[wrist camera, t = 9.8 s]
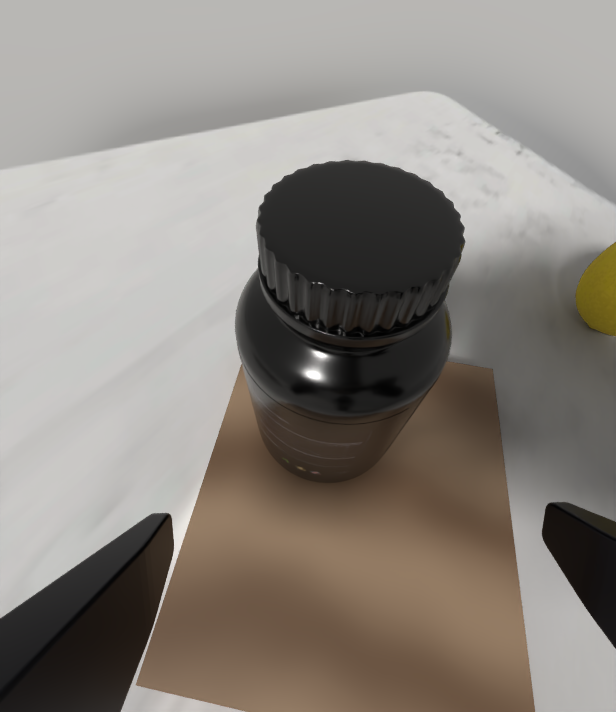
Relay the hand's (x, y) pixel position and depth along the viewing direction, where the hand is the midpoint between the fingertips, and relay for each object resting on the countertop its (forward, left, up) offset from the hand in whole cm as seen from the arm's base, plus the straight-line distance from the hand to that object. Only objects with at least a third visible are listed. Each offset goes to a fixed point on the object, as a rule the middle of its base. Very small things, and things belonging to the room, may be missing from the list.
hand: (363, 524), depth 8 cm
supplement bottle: (+6, +1, -8) cm, 10 cm away
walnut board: (+3, -1, -9) cm, 10 cm away
